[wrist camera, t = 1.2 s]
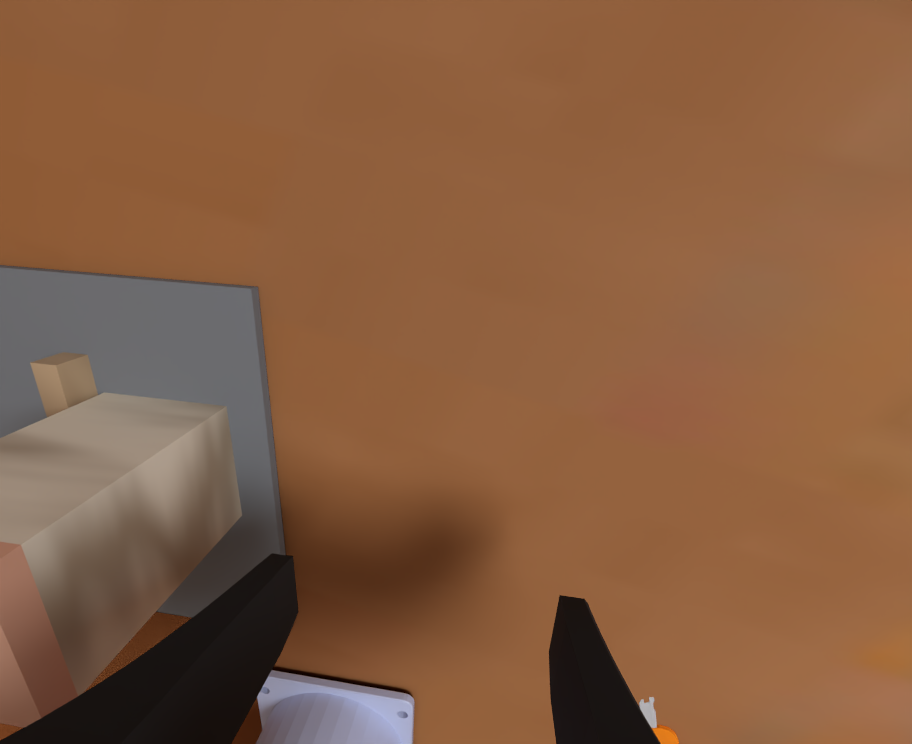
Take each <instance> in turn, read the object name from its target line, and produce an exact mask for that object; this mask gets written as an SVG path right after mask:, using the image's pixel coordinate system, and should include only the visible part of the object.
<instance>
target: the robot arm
mask: <svg viewBox="0 0 912 744" xmlns="http://www.w3.org/2000/svg"><path fill="white" fill-rule="evenodd" d="M297 614H298V603H297V593H296V583H295V572H294V562H293V556H287V555H280V554H273V553H272V554H270V555H269V556H268V557H267V558H265V559H264V560H263V561H262V562H260V563H259V564H258V565H257V566H255V567H254V568H253V569H252V570H251V571H249V572H248V573H247V574H246V575H245V576H243V577H242V578H241V579H240V580H239V581H237V582H236V583H235V584H234V585H233V586H231V587H230V588H229V589H228V590H227V591H225V592H224V593H223V594H222V595H220V596H219V597H218V598H217V599H215V600H214V601H213V602H212V603H210V604H209V605H208V606H207V607H205V608H204V609H203V610H202V611H200V612H199V613H198V614H197V615H195V616H194V617H193V618H191V619H190V620H189V621H188V622H186V623H185V624H184V625H182V626H181V627H180V628H178V629H177V630H175V631H174V632H173V633H171V634H170V635H169V636H167V637H166V638H165V639H163V640H162V641H161V642H159V643H158V644H157V645H155V646H154V647H153V648H151V649H150V650H148V651H147V652H145V653H144V654H143V655H141V656H140V657H138V658H137V659H135V660H134V661H132V662H131V663H130V664H128V665H127V666H125V667H124V668H122V669H121V670H119V671H118V672H116V673H114V674H113V675H111V676H110V677H108V678H107V679H105V680H104V681H102V682H101V683H99V684H97V685H96V686H94V687H93V688H91V689H89V690H88V691H86V692H84V693H83V694H81V695H79V696H78V697H76V698H74V699H73V700H71V701H69V702H68V703H66V704H64V705H62V706H61V707H59V708H57V709H56V710H54V711H52V712H51V713H49V714H47V715H46V716H44V717H42V718H41V719H39V720H37V721H35V722H33V723H32V724H30V725H28V726H26V727H24V728H23V729H21V730H19V731H17V732H15V733H13V734H12V735H10V736H8V737H6V738H4V739H3V740H1V741H0V744H231V743H232V741H233V739H234V738H235V736H236V734H237V732H238V730H239V729H240V727H241V725H242V723H243V721H244V720H245V718H246V716H247V714H248V712H249V710H250V709H251V707H252V705H253V703H254V701H255V700H256V698H257V699H258V706H259V712H260V718H261V725H262V732H261V734H260V736H259V738H258V740H257V742H256V744H413V727H414V699H413V698H412V696H410V695H409V694H406V693H402V692H396V691H391V690H385V689H379V688H373V687H368V686H362V685H356V684H350V683H344V682H339V681H333V680H327V679H321V678H316V677H310V676H304V675H298V674H293V673H287V672H281V671H275V670H272V669H273V667H274V665H275V663H276V661H277V659H278V658H279V656H280V654H281V652H282V650H283V647H284V645H285V643H286V640H287V638H288V636H289V633H290V631H291V628H292V626H293V624H294V621H295V619H296V616H297ZM549 668H550V694H551V705H552V713H553V721H554V728H555V736H556V744H661V743H660V741H659V740H658V738H657V737H656V735H655V733H654V731H653V730H652V728H651V726H650V725H649V723H648V721H647V720H646V718H645V716H644V715H643V713H642V711H641V709H640V708H639V706H638V704H637V702H636V701H635V699H634V697H633V695H632V693H631V692H630V690H629V688H628V686H627V684H626V682H625V680H624V678H623V677H622V675H621V673H620V671H619V669H618V667H617V665H616V663H615V661H614V659H613V657H612V656H611V653H610V651H609V649H608V647H607V645H606V643H605V641H604V639H603V637H602V635H601V633H600V631H599V628H598V626H597V624H596V622H595V620H594V617H593V615H592V613H591V610H590V608H589V605H588V603H587V602H586V601H585V599H581V598H574V597H568V596H561V595H560V597H559V602H558V607H557V613H556V618H555V623H554V628H553V633H552V639H551V644H550V649H549Z"/></svg>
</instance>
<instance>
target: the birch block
mask: <svg viewBox="0 0 912 744" xmlns="http://www.w3.org/2000/svg"><path fill="white" fill-rule="evenodd" d="M241 516H242V511H241V504H240V497H239V490H238V483H237V476H236V469H235V462H234V455H233V448H232V441H231V434H230V427H229V420H228V413H227V407H226V406H220V405H211V404H203V403H194V402H185V401H176V400H167V399H158V398H149V397H141V396H132V395H123V394H114V393H105V392H104V393H102V394H100V395H97V396H95V397H93V398H91V399H88V400H86V401H84V402H81V403H79V404H77V405H75V406H72V407H70V408H68V409H65V410H63V411H61V412H59V413H56V414H54V415H52V416H50V417H47V418H45V419H43V420H40V421H38V422H36V423H34V424H31V425H29V426H27V427H24V428H22V429H20V430H18V431H15V432H13V433H11V434H9V435H6V436H4V437H2V438H0V723H3V724H8V725H13V726H18V727H23V728H24V727H26V726H28V725H30V724H32V723H33V722H35V721H37V720H39V719H41V718H42V717H44V716H46V715H47V714H49V713H51V712H52V711H54V710H56V709H57V708H59V707H61V706H62V705H64V704H66V703H68V702H69V701H71V700H73V699H74V698H76V697H78V696H79V695H81V694H82V693H83V692H84V691H85V690H86V689H87V688H88V687H89V686H90V685H91V683H92V682H93V681H94V680H95V679H96V678H97V677H98V676H99V674H100V673H101V672H102V671H103V670H104V669H105V668H106V667H107V666H108V664H109V663H110V662H111V661H112V660H113V659H114V658H115V657H116V656H117V654H118V653H119V652H120V651H121V650H122V649H123V648H124V647H125V645H126V644H127V643H128V642H129V641H130V640H131V639H132V638H133V637H134V635H135V634H136V633H137V632H138V631H139V630H140V629H141V628H142V627H143V625H144V624H145V623H146V622H147V621H148V620H149V619H150V618H151V616H152V615H153V614H154V613H155V612H156V611H157V610H158V609H159V608H160V606H161V605H162V604H163V603H164V602H165V601H166V600H167V599H168V597H169V596H170V595H171V594H172V593H173V592H174V591H175V590H176V589H177V587H178V586H179V585H180V584H181V583H182V582H183V581H184V580H185V579H186V577H187V576H188V575H189V574H190V573H191V572H192V571H193V570H194V568H195V567H196V566H197V565H198V564H199V563H200V562H201V561H202V560H203V558H204V557H205V556H206V555H207V554H208V553H209V552H210V551H211V550H212V548H213V547H214V546H215V545H216V544H217V543H218V542H219V541H220V539H221V538H222V537H223V536H224V535H225V534H226V533H227V532H228V531H229V529H230V528H231V527H232V526H233V525H234V524H235V523H236V522H237V521H238V519H239V518H240V517H241Z"/></svg>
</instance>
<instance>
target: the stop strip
mask: <svg viewBox="0 0 912 744" xmlns="http://www.w3.org/2000/svg"><path fill="white" fill-rule="evenodd" d="M30 364H31V367H32V370H33V374H34V377H35V380H36V383H37V387H38V390H39V393H40V396H41V399H42V403H43V406H44V409H45V412H46V416H47V417H50V416H52V415H54V414H56V413H59V412H61V411H63V410H65V409H68V408H70V407H72V406H75V405H77V404H79V403H81V402H84V401H86V400H88V399H91V398H93V397H95V396H97V395H98V393H97V389H96V385H95V381H94V377H93V373H92V369H91V365H90V362H89V358H88V355H85V354H76V353H66V352H63V353H59V354H56V355H53V356H50V357H46V358H43V359H40V360H37V361H34V362H30Z"/></svg>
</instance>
